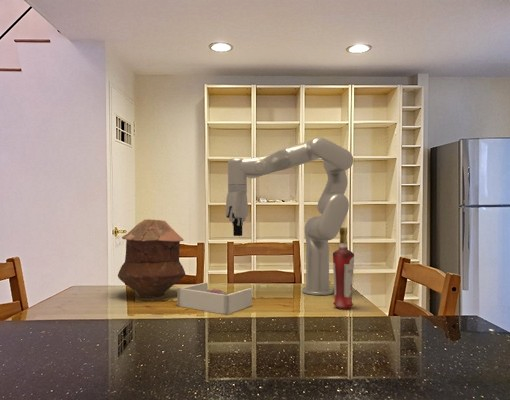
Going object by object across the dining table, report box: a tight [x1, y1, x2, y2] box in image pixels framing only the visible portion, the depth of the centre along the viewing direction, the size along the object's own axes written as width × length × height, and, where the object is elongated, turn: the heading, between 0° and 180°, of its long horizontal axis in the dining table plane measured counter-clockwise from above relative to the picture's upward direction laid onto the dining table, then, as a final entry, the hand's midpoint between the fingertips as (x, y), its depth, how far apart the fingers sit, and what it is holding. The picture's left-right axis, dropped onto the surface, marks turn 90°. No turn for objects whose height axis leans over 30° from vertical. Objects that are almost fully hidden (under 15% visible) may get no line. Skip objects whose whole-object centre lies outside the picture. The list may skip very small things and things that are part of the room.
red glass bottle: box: [332, 226, 355, 310], centre depth 137 cm, size 7×7×28 cm
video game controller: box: [206, 288, 228, 295], centre depth 137 cm, size 10×5×7 cm, turn 59°
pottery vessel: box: [117, 219, 186, 298], centre depth 156 cm, size 26×26×30 cm
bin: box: [176, 282, 253, 316], centre depth 138 cm, size 15×21×6 cm
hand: (237, 235), depth 155 cm, fingers closed
